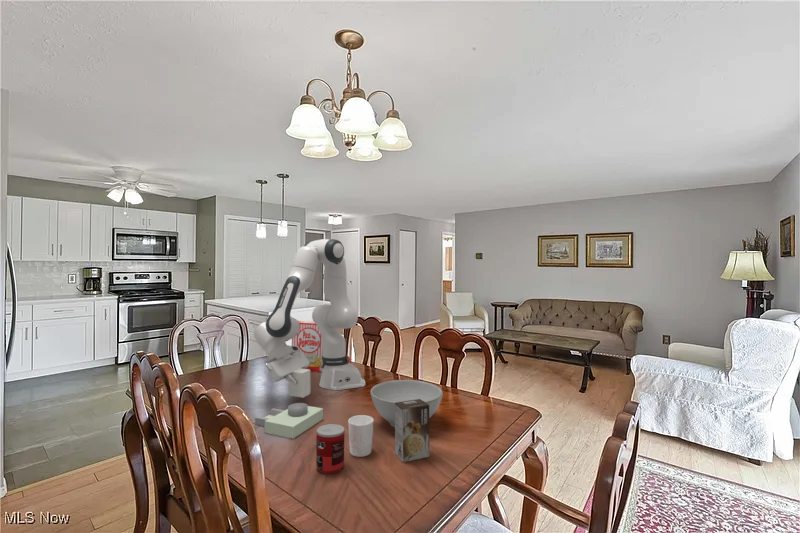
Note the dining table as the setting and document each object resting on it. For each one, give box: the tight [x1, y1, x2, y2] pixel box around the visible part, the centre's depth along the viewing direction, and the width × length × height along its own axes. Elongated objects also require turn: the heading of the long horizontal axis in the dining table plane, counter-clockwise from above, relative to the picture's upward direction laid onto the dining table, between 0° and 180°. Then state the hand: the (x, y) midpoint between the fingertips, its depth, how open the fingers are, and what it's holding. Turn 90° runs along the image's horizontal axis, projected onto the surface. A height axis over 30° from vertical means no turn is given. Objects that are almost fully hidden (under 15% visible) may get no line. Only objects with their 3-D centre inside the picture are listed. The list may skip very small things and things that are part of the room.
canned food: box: [315, 423, 345, 475], centre depth 110 cm, size 8×8×11 cm
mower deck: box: [254, 402, 324, 440], centre depth 140 cm, size 21×18×6 cm
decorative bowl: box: [370, 379, 443, 428], centre depth 142 cm, size 27×27×12 cm
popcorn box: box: [291, 320, 323, 373], centre depth 212 cm, size 20×6×27 cm, turn 81°
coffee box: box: [394, 399, 431, 463], centre depth 117 cm, size 9×6×16 cm
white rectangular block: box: [288, 368, 311, 399], centre depth 156 cm, size 7×5×10 cm
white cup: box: [347, 414, 375, 458], centre depth 119 cm, size 8×8×10 cm
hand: (300, 381), depth 156 cm, fingers closed on white rectangular block, 5 cm apart
